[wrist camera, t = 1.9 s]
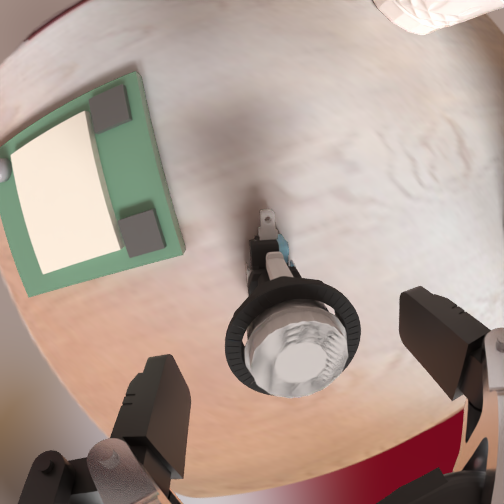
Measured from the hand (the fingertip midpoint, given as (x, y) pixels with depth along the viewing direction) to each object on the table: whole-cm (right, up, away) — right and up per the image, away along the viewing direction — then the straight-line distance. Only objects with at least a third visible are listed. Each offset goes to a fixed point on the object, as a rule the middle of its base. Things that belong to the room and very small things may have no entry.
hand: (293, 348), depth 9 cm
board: (-14, +7, +8) cm, 17 cm away
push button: (0, +3, +10) cm, 10 cm away
